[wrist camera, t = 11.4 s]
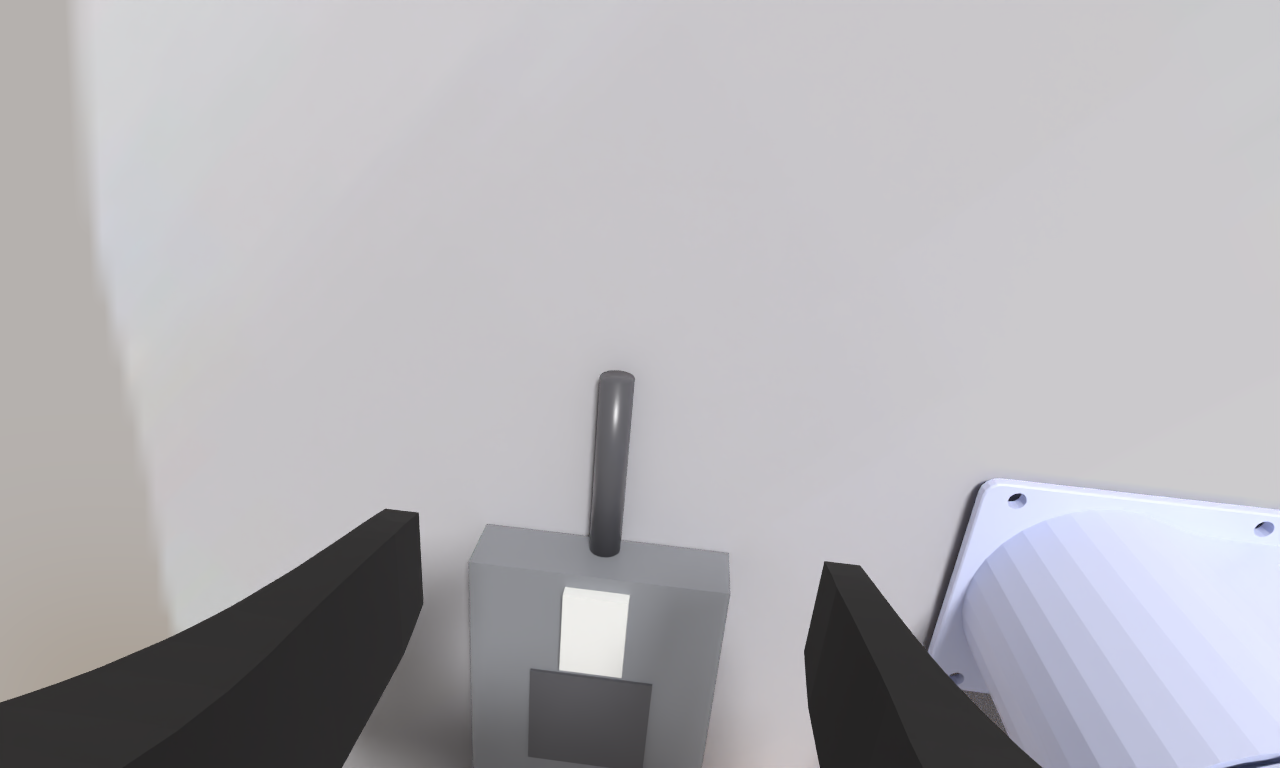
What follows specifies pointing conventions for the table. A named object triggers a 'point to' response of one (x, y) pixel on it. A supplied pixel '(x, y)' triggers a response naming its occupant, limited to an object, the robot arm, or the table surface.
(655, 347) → the table surface
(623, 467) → the power strip
